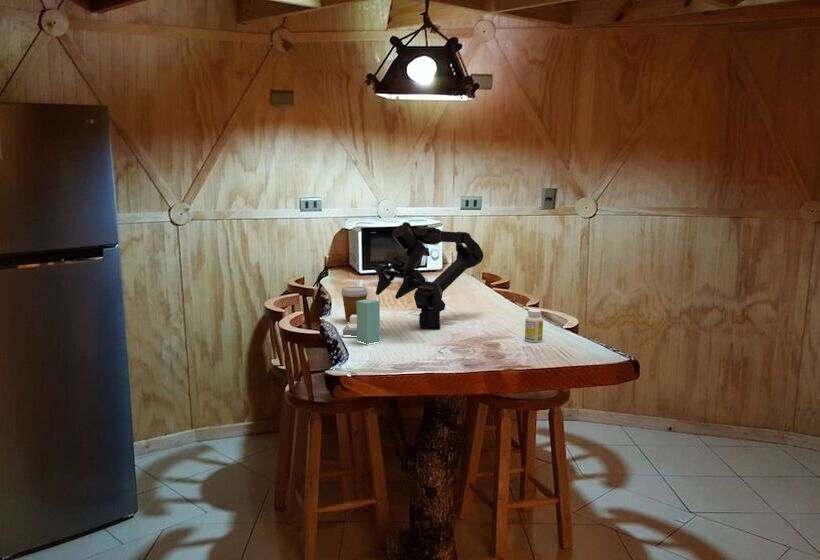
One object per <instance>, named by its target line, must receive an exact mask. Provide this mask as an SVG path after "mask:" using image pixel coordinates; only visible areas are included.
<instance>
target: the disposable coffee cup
mask: <svg viewBox="0 0 820 560" xmlns="http://www.w3.org/2000/svg"><path fill="white" fill-rule="evenodd" d="M368 293H369V291H368V288H367V287H365V286H357V285H356V286H355V285H354V286H344V287H343V288H341V292H340V294H341V296H342V302H343V310H344V314H345V322H346V321H347V322H350V316H351V315H357V306H356V301H360V300H366V299H367V296H368Z"/></svg>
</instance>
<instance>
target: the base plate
mask: <svg viewBox="0 0 820 560" xmlns="http://www.w3.org/2000/svg"><path fill="white" fill-rule="evenodd" d="M343 335H351V336H357V315H351V316H350V322H349V323H346V325H345V327H344V328H343V329H342V336H343Z"/></svg>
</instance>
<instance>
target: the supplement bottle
mask: <svg viewBox="0 0 820 560" xmlns="http://www.w3.org/2000/svg"><path fill="white" fill-rule="evenodd" d="M524 321H525V323H524V327H525V328H524V330H525V331H524V340H525V341H526V342H529V343H541V342H542V341H543V329H544V319H543V317H542V310H541V309H539V308H533V309H532V308H530V309H528V310H527V316H526V317H525V320H524Z"/></svg>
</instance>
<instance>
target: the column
mask: <svg viewBox="0 0 820 560" xmlns="http://www.w3.org/2000/svg"><path fill="white" fill-rule="evenodd" d="M356 306H357V338H356V341H357V340H358V341H361V342H364V343H366V344H369V343H374V342H379V341H380V342H381V327H380V326H381V325H380V324H381V319H380V318H381V315H380V313H381V312H380V310H381V307H380V300H376V299H372V298H368V299H366V300H360V301H356ZM380 342H379V343H380Z"/></svg>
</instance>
